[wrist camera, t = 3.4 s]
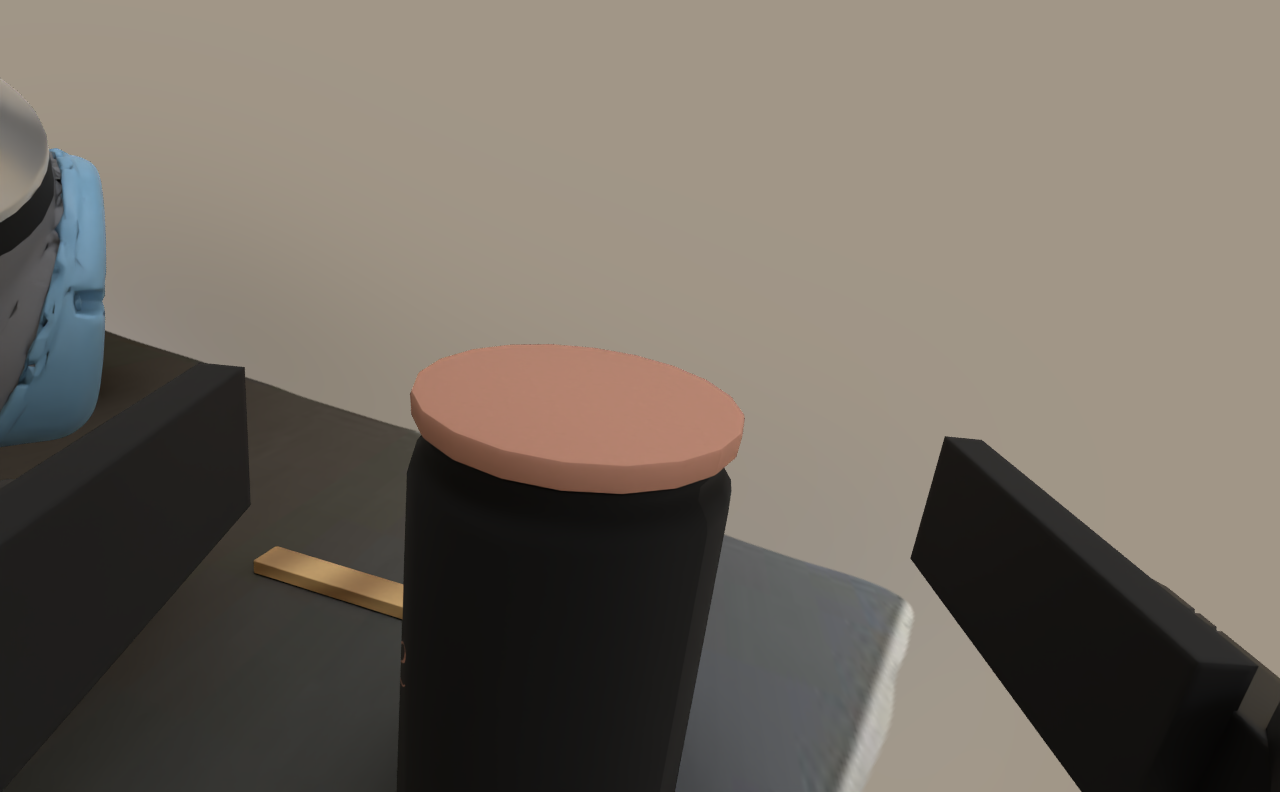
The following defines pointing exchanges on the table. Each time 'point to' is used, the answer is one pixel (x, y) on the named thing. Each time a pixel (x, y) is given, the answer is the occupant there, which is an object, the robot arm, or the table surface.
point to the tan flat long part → (332, 580)
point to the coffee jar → (558, 568)
